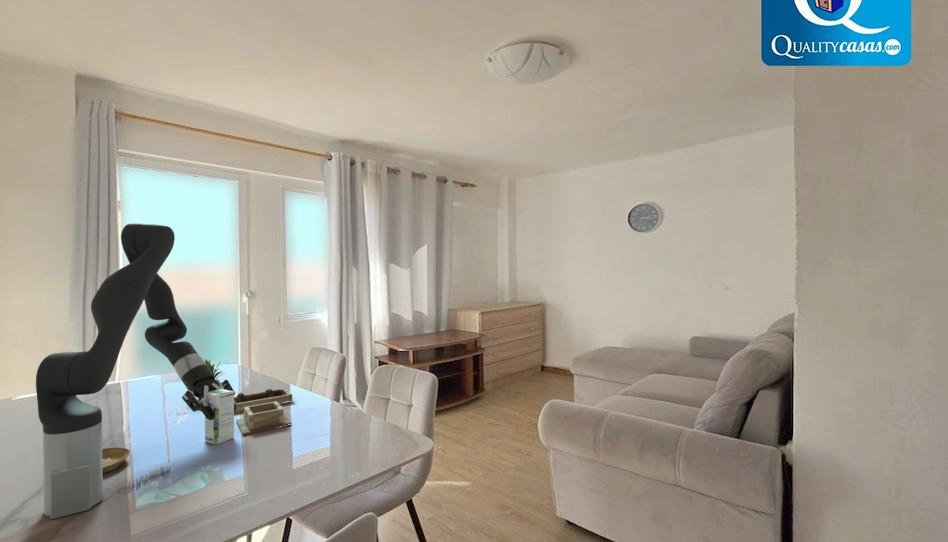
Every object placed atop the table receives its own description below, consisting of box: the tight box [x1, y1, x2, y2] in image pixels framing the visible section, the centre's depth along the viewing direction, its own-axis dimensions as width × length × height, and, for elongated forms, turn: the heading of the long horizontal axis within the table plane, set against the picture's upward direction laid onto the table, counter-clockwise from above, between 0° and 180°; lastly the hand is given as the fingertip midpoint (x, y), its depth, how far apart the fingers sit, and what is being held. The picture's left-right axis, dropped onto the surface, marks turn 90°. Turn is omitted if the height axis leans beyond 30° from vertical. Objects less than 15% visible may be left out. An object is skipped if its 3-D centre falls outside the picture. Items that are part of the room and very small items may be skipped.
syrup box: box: [204, 389, 235, 446], centre depth 125 cm, size 6×6×14 cm
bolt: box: [236, 388, 283, 403], centre depth 158 cm, size 6×5×15 cm
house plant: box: [204, 358, 229, 383], centre depth 165 cm, size 14×14×16 cm
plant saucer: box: [102, 447, 131, 474], centre depth 107 cm, size 15×15×3 cm
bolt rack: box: [234, 388, 293, 414], centre depth 157 cm, size 10×20×3 cm, turn 127°
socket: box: [236, 401, 293, 437], centre depth 137 cm, size 14×14×5 cm
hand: (223, 414), depth 124 cm, fingers closed on syrup box, 6 cm apart
